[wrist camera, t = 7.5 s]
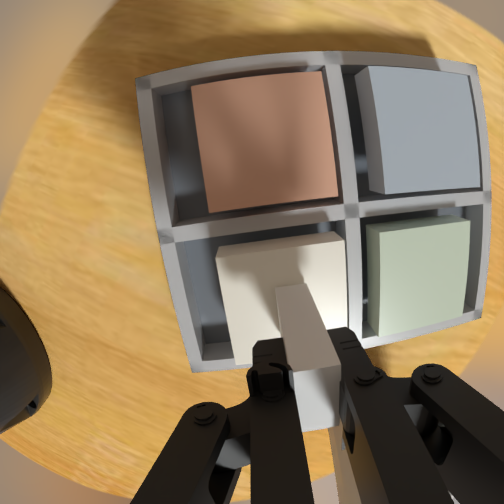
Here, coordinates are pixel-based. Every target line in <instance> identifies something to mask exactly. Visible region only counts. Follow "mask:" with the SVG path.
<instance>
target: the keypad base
mask: <svg viewBox="0 0 504 504" xmlns="http://www.w3.org/2000/svg"><path fill="white" fill-rule="evenodd" d="M367 66H386V67H402V68H414V69H424V70H432V71H440V72H448V73H455V74H461V75H467V77H468V82H469V87H470V93H471V98H472V104H473V111H474V118H475V125H476V134H477V143H478V155H479V170H480V187H472V188H457V189H443V190H430V191H418V192H407V193H395V194H382V193H378V192H374V191H370V190H369V178H368V168H367V158H366V149H365V141H364V133H363V126H362V119H361V112H360V106H359V99H358V93H357V88H356V82H355V77H354V76H355V75H356V74H358V73H359V72H360V71H362V70H363V69H364V68H366V67H367ZM316 71H321V73H322V78H323V84H324V90H325V96H326V102H327V109H328V115H329V122H330V129H331V136H332V144H333V152H334V160H335V169H336V178H337V188H338V196H336V197H327V198H318V199H310V200H302V201H293V202H285V203H278V204H270V205H262V206H255V207H248V208H241V209H234V210H227V211H220V212H213V213H209V209H208V202H207V196H206V190H205V183H204V177H203V170H202V164H201V157H200V150H199V143H198V136H197V129H196V122H195V115H194V107H193V100H192V92H191V86H195V85H200V84H206V83H211V82H217V81H224V80H230V79H238V78H245V77H253V76H262V75H272V74H283V73H297V72H316ZM135 83H136V93H137V102H138V111H139V120H140V128H141V135H142V143H143V150H144V157H145V163H146V170H147V176H148V182H149V188H150V194H151V200H152V205H153V211H154V216H155V222H156V227H157V232H158V237H159V242H160V246H161V251H162V256H163V261H164V265H165V270H166V274H167V278H168V283H169V287H170V291H171V295H172V300H173V304H174V308H175V312H176V316H177V319H178V323H179V327H180V331H181V335H182V338H183V342H184V346H185V349H186V353H187V356H188V360H189V363H190V367H191V370H192V373H194V372H208V371H220V370H230V369H240V368H249V367H252V365H253V363H252V364H243V365H236V363H235V358H234V353H233V349H232V344H231V339H230V334H229V328H228V323H227V318H226V313H225V308H224V302H223V297H222V292H221V286H220V281H219V275H218V270H217V264H216V259H215V257H216V254H217V251H218V248H219V246H226V245H234V244H241V243H248V242H256V241H263V240H270V239H278V238H285V237H292V236H300V235H307V234H315V233H323V232H330V231H334V232H335V233H336V234H338V235H339V236H340V237H341V238H342V239H344V241H345V259H346V283H347V328H349V329H350V330H352V331H354V332H355V334H356V336H357V338H358V341H360V343H361V345H362V347H363V348H364V349H367V348H371V347H376V346H380V345H385V344H389V343H393V342H397V341H402V340H406V339H410V338H414V337H417V336H421V335H425V334H429V333H432V332H436V331H439V330H443V329H446V328H450V327H453V326H457V325H460V324H463V323H466V322H469V321H473V320H476V319H479V318H481V314H482V309H483V303H484V296H485V289H486V281H487V273H488V263H489V251H490V236H491V169H490V153H489V142H488V132H487V124H486V116H485V110H484V103H483V97H482V92H481V86H480V81H479V76H478V72H477V67H476V65H473V64H468V63H462V62H457V61H451V60H445V59H439V58H432V57H425V56H417V55H407V54H397V53H384V52H365V51H308V52H288V53H275V54H264V55H254V56H246V57H238V58H231V59H224V60H217V61H211V62H206V63H200V64H195V65H190V66H185V67H180V68H175V69H171V70H166V71H162V72H158V73H154V74H150V75H146V76H142V77H138V78H135ZM450 214H452V215H455V216H458V217H461V218H464V219H467V220H470V244H469V260H468V272H467V282H466V291H465V299H464V307H463V314H462V316H460V317H457V318H454V319H450V320H446V321H443V322H439V323H436V324H432V325H428V326H424V327H420V328H416V329H412V330H408V331H404V332H400V333H396V334H391V335H387V336H383V337H378V336H377V334H376V333H375V332H374V330H373V329H372V327H371V326H370V324H369V323H368V322H367V309H368V278H367V241H366V225H368V224H376V223H384V222H392V221H400V220H408V219H416V218H425V217H433V216H441V215H450Z"/></svg>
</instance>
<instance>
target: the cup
mask: <svg viewBox="0 0 504 504" xmlns="http://www.w3.org/2000/svg"><path fill="white" fill-rule="evenodd" d="M342 431H343V425H342V422H341V418H340V424H339V426H335V427H330V428H328V432H329V437H330V443H331V450H332V456H333V463H334V469H335V476H336V482H337V490H338V497H339V504H361V500H360V496H359V493H358V489H357V486H356V482H355V478H354V475H353V471H352V468H351V464H350V461H349V457H348V454H347V451H346V447H345V450H341V445H342ZM449 494H450V496H451V498H452V499H453V497H454V496H453V495H452V494H451V493H450V492H449Z"/></svg>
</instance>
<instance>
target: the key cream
mask: <svg viewBox="0 0 504 504" xmlns="http://www.w3.org/2000/svg"><path fill="white" fill-rule="evenodd" d="M215 259H216V264H217V270H218V275H219V281H220V286H221V292H222V297H223V302H224V308H225V313H226V318H227V323H228V328H229V334H230V339H231V344H232V349H233V353H234V358H235V363H236V365H243V364H252V358H253V357H252V348H253V346H254V345H255V343H256V342H257V341H258V340H266V339H273V338H281V336H280V327H279V319H278V310H277V302H276V294H275V287H283V286H290V285H297V284H304V283H306V284H307V286H308V288H309V290H310V293H311V295H312V297H313V300H314V302H315V304H316V306H317V309H318V311H319V313H320V316H321V318H322V320H323V323H324V325H325V327H326V330H328V329H334V328H340V327H345V326H346V327H347V283H346V259H345V241H344V239H342V238H341V237H340V236H339V235H338V234H336V233H335V232H334V231H330V232H323V233H315V234H307V235H300V236H292V237H285V238H278V239H270V240H263V241H256V242H248V243H241V244H234V245H226V246H219V248H218V251H217V254H216V257H215Z"/></svg>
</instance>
